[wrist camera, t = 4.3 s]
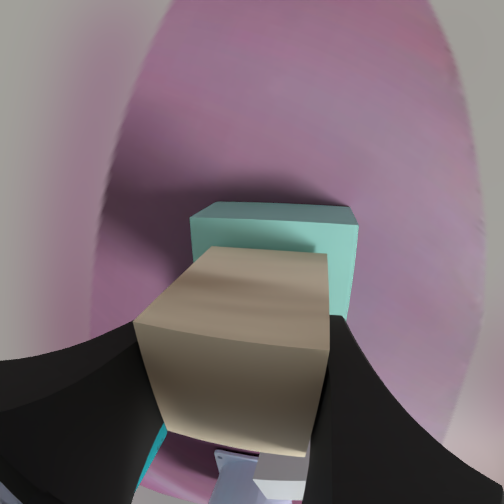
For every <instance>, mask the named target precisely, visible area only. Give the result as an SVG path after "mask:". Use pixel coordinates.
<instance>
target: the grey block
mask: <svg viewBox="0 0 504 504" xmlns="http://www.w3.org/2000/svg"><path fill="white" fill-rule="evenodd" d="M309 457H310V441H309V444H308V448H307V452H306V455H305V457H296V456H287V455H278V454H270V453H264V452H260V454H259V458H258V461H257V465H256V469H255V472H254V476H253V481H254V482H255V483H256V485H257V486H258V487H259V489H260V490H261V491H262V493H263V494H264V495H265V497H266V498H267V499H276V500H303V495H304V490H305V484H306V479H307V473H308V467H309Z"/></svg>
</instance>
